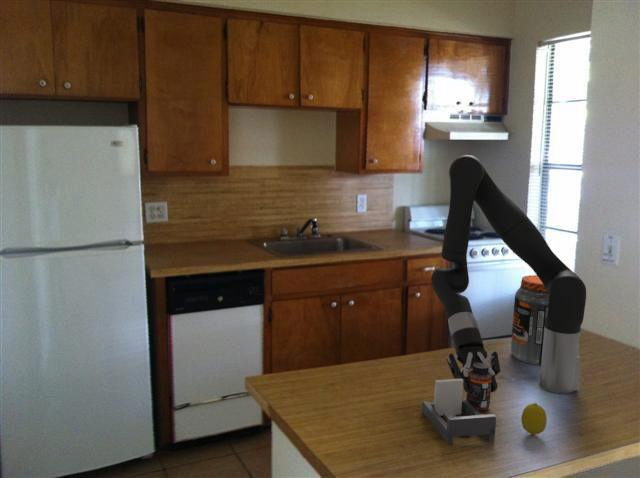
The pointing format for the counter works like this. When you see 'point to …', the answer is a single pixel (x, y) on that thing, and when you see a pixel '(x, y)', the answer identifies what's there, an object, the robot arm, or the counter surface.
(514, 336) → the supplement tub
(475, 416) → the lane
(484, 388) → the supplement bottle
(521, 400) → the counter surface
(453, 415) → the plate
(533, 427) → the lemon
